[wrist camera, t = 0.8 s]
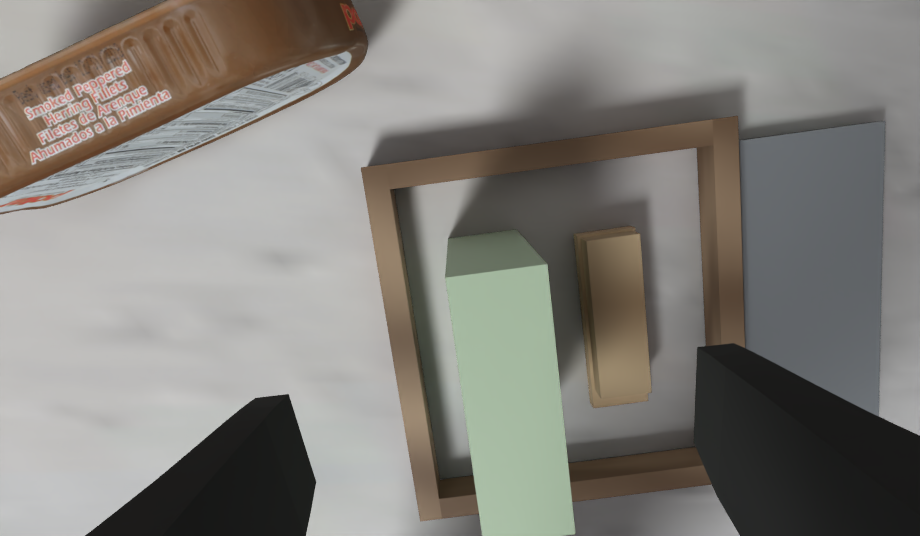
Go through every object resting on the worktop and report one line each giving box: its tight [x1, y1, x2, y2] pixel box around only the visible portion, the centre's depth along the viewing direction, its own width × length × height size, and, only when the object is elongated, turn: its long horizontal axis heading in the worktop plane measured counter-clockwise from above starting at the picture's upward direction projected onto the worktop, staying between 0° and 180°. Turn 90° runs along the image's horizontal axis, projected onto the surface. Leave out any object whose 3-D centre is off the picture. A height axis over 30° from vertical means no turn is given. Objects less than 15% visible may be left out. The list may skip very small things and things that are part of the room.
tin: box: [0, 0, 368, 214], centre depth 18 cm, size 15×3×8 cm, turn 113°
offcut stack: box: [574, 226, 651, 408], centre depth 24 cm, size 8×2×2 cm, turn 8°
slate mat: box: [739, 121, 885, 416], centre depth 24 cm, size 14×6×1 cm, turn 8°
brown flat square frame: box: [361, 116, 745, 521], centre depth 23 cm, size 16×15×2 cm
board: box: [445, 229, 575, 536], centre depth 20 cm, size 9×3×8 cm, turn 8°
